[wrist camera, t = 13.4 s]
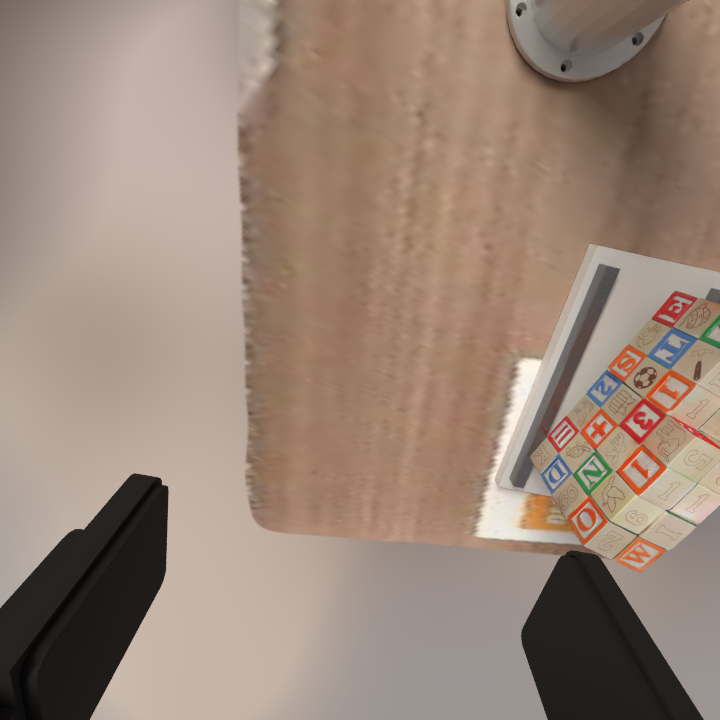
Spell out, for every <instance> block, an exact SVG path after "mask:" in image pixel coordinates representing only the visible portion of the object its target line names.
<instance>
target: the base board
mask: <svg viewBox="0 0 720 720" xmlns="http://www.w3.org/2000/svg"><path fill="white" fill-rule="evenodd" d="M674 291H679V292H682V293H686V294H688V295H691V296H694V297H697V298H703V299H705V300H708V301H711V302H714V303H718V304H720V272H716V271H711V270H707V269H702V268H698V267H693V266H689V265H684V264H679V263H675V262H670V261H666V260H661V259H657V258H652V257H648V256H643V255H639V254H634V253H630V252H625V251H621V250H616V249H612V248H607V247H602V246H598V245H593V244H589V246H588V249H587V251H586V254H585V256H584V259H583V261H582V264H581V266H580V269H579V271H578V273H577V276H576V278H575V281H574V283H573V286H572V288H571V291H570V293H569V296H568V298H567V301H566V303H565V306H564V308H563V311H562V313H561V316H560V318H559V321H558V323H557V326H556V328H555V330H554V333H553V335H552V338H551V340H550V343H549V345H548V348H547V350H546V353H545V355H544V358H543V360H542V363H541V365H540V368H539V370H538V373H537V375H536V378H535V380H534V382H533V385H532V387H531V390H530V392H529V395H528V397H527V400H526V402H525V405H524V407H523V410H522V412H521V415H520V417H519V420H518V422H517V425H516V427H515V430H514V432H513V434H512V437H511V439H510V442H509V444H508V447H507V449H506V452H505V454H504V457H503V459H502V462H501V464H500V467H499V469H498V472H497V474H496V477H495V480H496V483H497V485H498V487H502V488H507V489H513V490H518V491H524V492H529V493H534V494H540V495H545V496H551V497H553V496H552V494H551V493H550V491H549V489H548V487H547V486H546V484H545V482H544V480H543V479H542V477H541V475H540V474H539V473H538V471H537V469H536V468H535V466H534V464H533V463H532V461H531V459H530V456H531V455H532V453H533V452H534V451H535V450H536V449H537V448H538V446H539V445H540V444H541V443H542V442H543V441H544V440H545V439H546V438H547V437H548V435H549V434H550V433H551V432H552V431H553V430H554V429H555V427H556V426H557V425H558V424H559V423H560V422H561V421H562V419H563V418H564V417H565V416H567V415H568V413H569V412H570V411H571V410H572V409H573V408H574V407H575V406H576V404H577V403H578V402H579V401H580V400H581V399H582V397H583V396H584V395H585V394H586V393H587V391H588V390H589V389H590V388H591V387H592V386H593V385H594V383H595V382H596V381H597V380H598V379H599V378H600V376H601V375H602V374H603V373H604V372H605V371H606V370H607V367H608V366H609V365H610V364H611V363H612V361H613V360H614V359H615V358H616V357H617V356H618V355H619V354H620V352H621V351H622V350H623V349H624V348H625V347H626V346H627V345H628V344H629V343H630V341H631V340H632V339H633V337H634V336H635V335H636V334H637V333H638V332H639V330H640V329H641V328H642V327H643V326H644V325H645V324H646V322H647V321H648V320H649V319H652V317H653V316H654V315H655V314H656V312H657V311H658V310H659V309H660V308H661V306H662V305H663V304H664V303H665V302H666V300H667V299H668V298H669V297H670V296H671V294H672V293H673V292H674Z"/></svg>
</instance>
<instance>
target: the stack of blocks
mask: <svg viewBox="0 0 720 720" xmlns="http://www.w3.org/2000/svg"><path fill="white" fill-rule="evenodd" d="M530 459H531V461H532V463H533V464H534V466H535V468H536V469H537V471H538V473H539V474H540V475H541V477H542V479H543V480H544V482H545V484H546V486H547V487H548V489H549V491H550V493H551V494H552V496H553V499H554V500H555V502H556V504H557V505H558V507H559V509H560V511H561V513H562V514H563V516H564V517H565V519H566V520H568V521H569V523H570V524H571V526H572V528H573V530H574V531H575V533H576V535H577V536H578V538H579V540H580V541H581V543H582V545H583V546H584V547H586V548H588V549H590V550H592V551H594V552H597V553H599V554H601V555H603V556H605V557H606V558H608V559H613V560H614V561H616V562H617V563H619V564H622V565H624V566H626V567H628V568H630V569H633V570H635V571H637V572H640V573H641V572H643V571H644V570H645V569H646V568H647V567H648V566H649V565H651V564H652V563H653V562H654V561H655V560H657V559H658V558H659V557H660V556H661V555H662V554H663V553H665V552H666V550H671V549H672V548H674V547H675V546H676V545H677V544H678V543H679V542H681V541H682V540H683V539H684V538H685V537H686V536H687V535H688V534H690V533H691V532H692V531H693V530H694V529H695V528H696V524H699V523H701V522H702V521H703V520H704V519H705V518H706V517H707V516H708V515H710V514H711V513H712V512H713V511H714V510H715V509H716V508H717V507H718V506H719V505H720V304H718V303H714V302H711V301H708V300H705V299H703V298H697V297H694V296H691V295H688V294H686V293H682V292H679V291H674V292H673V293H672V294H671V296H670V297H669V298H668V299H667V300H666V302H665V303H664V304H663V305H662V306H661V308H660V309H659V310H658V311H657V312H656V314H655V315H654V316H653V317H652V319H649V320H648V321H647V322H646V324H645V325H644V326H643V327H642V328H641V329H640V330H639V332H638V333H637V334H636V335H635V336H634V337H633V339H632V340H631V341H630V343H629V344H628V345H627V346H626V347H625V348H624V349H623V350H622V351H621V352H620V354H619V355H618V356H617V357H616V358H615V359H614V360H613V361H612V363H611V364H610V365H609V366H608V367H607V370H606V371H605V372H604V373H603V374H602V375H601V376H600V378H599V379H598V380H597V381H596V382H595V383H594V385H593V386H592V387H591V388H590V389H589V390H588V391H587V393H586V394H585V395H584V396H583V397H582V399H581V400H580V401H579V402H578V403H577V404H576V406H575V407H574V408H573V409H572V410H571V411H570V412H569V413H568V415H567V416H565V417H564V418H563V419H562V421H561V422H560V423H559V424H558V425H557V426H556V427H555V429H554V430H553V431H552V432H551V433H550V434H549V435H548V437H547V438H546V439H545V440H544V441H543V442H542V443H541V444H540V445H539V446H538V448H537V449H536V450H535V451H534V452H533V453H532V455H531V456H530Z"/></svg>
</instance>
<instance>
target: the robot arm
mask: <svg viewBox="0 0 720 720" xmlns="http://www.w3.org/2000/svg"><path fill="white" fill-rule="evenodd" d="M687 1H688V0H506V14H507V19H508V24H509V29H510V33H511V35H512V38H513V40H514V43H515V45H516V47H517V49H518V50H519V52H520V53H521V55H522V56H523V58H524V59H525V61H526V62H527V63H529V64H530V65H531V66H532V67H533V68H534V69H535V70H536V71H538V72H539V73H541V74H543V75H544V76H546V77H548V78H551V79H555V80H558V81H561V82H581V81H588V80H592V79H595V78H597V77H600V76H603V75H605V74H607V73H609V72H611V71H613V70H615V69H617V68H618V67H620V66H621V65H623V64H624V63H626V62H627V61H628V60H630V59H631V58H633V57H634V56H635V55H636V54H637V53H638V52H639V51H640V50H641V49H642V48H643V47H644V46H645V45H646V44H647V42H648V41H649V40H650V39H651V37H652V36H653V35H654V33H655V32H656V31H657V29H658V28H659V26H660V24H661V23H662V21H663V19H664V17H665V15H666V14H667V13H669V12H670V11H672V10H674V9H675V8H677V7H679V6H680V5H682V4H683V3H685V2H687ZM516 11H519V12H520V17H519V16H517V15H516V13H515V12H516ZM632 40H633V42H634V44H633V43H632ZM561 66H563V67H564V71H563V72H562V71H561ZM167 518H168V486H164V485H162V480H161V479H160V478H158V477H152V476H147V475H141V474H132V475H131V476H130V477H129V478H128V479H127V480H126V481H125V482H124V484H123V485H122V486H121V487H120V488H119V490H118V491H117V492H116V493H115V494H114V495H113V496H112V498H111V499H110V500H109V501H108V503H106V505H105V506H104V507H103V508H102V509H101V510H100V512H99V513H98V514H97V515H96V516H95V517H94V519H93V520H92V521H91V522H90V523H89V524H88V526H87V527H86V528H85V529H84V530H82V529H75V530H73V531H71V532H70V533H68V534H67V535H66V536H65V537H64V538H63V539H62V540H61V541H60V542H59V543H58V545H57V546H56V547H55V548H54V549H53V550H52V551H51V552H50V553H49V555H48V556H47V557H46V558H45V559H44V560H43V561H42V562H41V563H40V565H39V566H38V567H37V568H36V569H35V570H34V571H33V573H32V574H31V575H30V576H29V577H28V578H27V579H26V580H25V581H24V582H23V583H22V585H21V586H20V587H19V588H18V589H17V590H16V591H15V592H14V594H13V595H12V596H11V597H10V598H9V599H8V600H7V601H6V602H5V604H4V605H3V606H2V607H1V608H0V720H90V718H91V716H92V714H93V712H94V710H95V708H96V706H97V705H98V703H99V701H100V699H101V697H102V695H103V694H104V692H105V690H106V688H107V686H108V684H109V682H110V680H111V679H112V677H113V675H114V673H115V671H116V669H117V667H118V666H119V664H120V661H121V660H122V658H123V656H124V654H125V652H126V651H127V649H128V647H129V645H130V643H131V641H132V639H133V637H134V636H135V634H136V632H137V630H138V628H139V626H140V624H141V623H142V621H143V619H144V617H145V615H146V613H147V611H148V609H149V608H150V606H151V604H152V602H153V600H154V598H155V596H156V595H157V593H158V591H159V589H160V587H161V585H162V582H163V580H164V576H165V572H166V551H167V520H168V519H167ZM521 638H522V645H523V648H524V651H525V654H526V657H527V660H528V663H529V666H530V669H531V671H532V675H533V677H534V681H535V683H536V686H537V689H538V692H539V695H540V698H541V701H542V704H543V707H544V710H545V713H546V716H547V718H548V720H703V718H702V716H701V715H700V713H699V712H698V710H697V708H696V707H695V705H694V704H693V702H692V701H691V699H690V697H689V696H688V694H687V693H686V691H685V690H684V688H683V687H682V685H681V684H680V682H679V680H678V679H677V677H676V676H675V674H674V672H673V671H672V670H671V668H670V666H669V665H668V663H667V662H666V660H665V659H664V657H663V655H662V654H661V652H660V651H659V649H658V647H657V646H656V644H655V643H654V642H653V640H652V638H651V637H650V635H649V633H648V632H647V630H646V629H645V627H644V626H643V624H642V623H641V621H640V619H639V618H638V616H637V615H636V613H635V612H634V610H633V609H632V607H631V605H630V604H629V602H628V601H627V599H626V597H625V596H624V594H623V593H622V591H621V590H620V588H619V587H618V585H617V583H616V582H615V580H614V579H613V577H612V576H611V574H610V573H609V571H608V569H607V568H606V566H605V565H604V563H603V562H602V560H601V559H600V558H599V557H598V556H597V555H595V554H589V553H584V552H578V551H569V552H567V553H566V555H565V556H561V557H560V559H559V560H558V562H557V564H556V566H555V568H554V570H553V571H552V573H551V575H550V577H549V579H548V581H547V583H546V585H545V586H544V588H543V590H542V592H541V594H540V596H539V598H538V600H537V602H536V604H535V605H534V608H533V609H532V611H531V613H530V615H529V617H528V619H527V621H526V623H525V625H524V627H523V629H522V634H521Z"/></svg>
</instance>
